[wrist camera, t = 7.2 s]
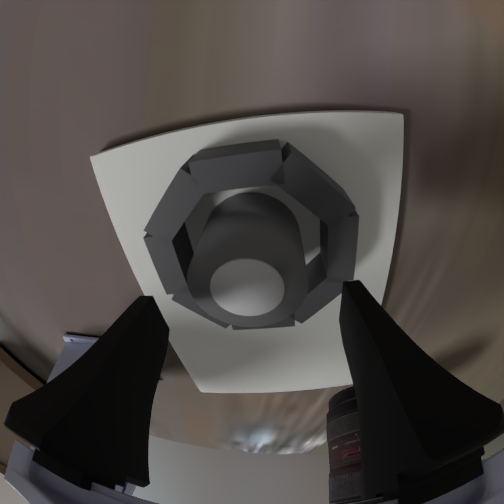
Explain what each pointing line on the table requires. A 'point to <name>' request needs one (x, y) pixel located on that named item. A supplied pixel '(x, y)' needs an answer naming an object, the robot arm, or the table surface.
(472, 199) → the table surface
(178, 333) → the board
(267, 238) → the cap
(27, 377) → the photo frame
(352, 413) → the camera lens
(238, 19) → the table surface
